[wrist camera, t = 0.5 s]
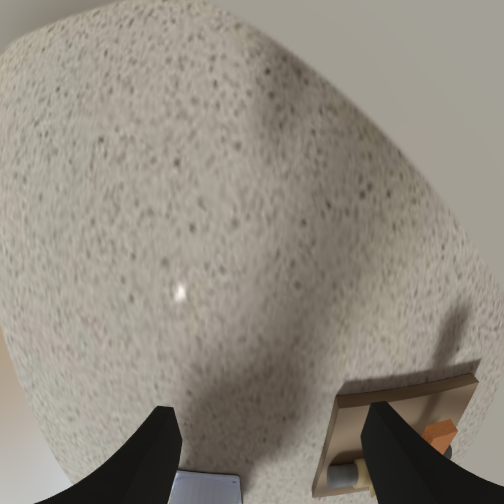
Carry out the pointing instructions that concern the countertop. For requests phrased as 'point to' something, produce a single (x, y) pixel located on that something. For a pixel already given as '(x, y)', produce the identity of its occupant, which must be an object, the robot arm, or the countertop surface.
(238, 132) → the countertop surface
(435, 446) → the valve lever
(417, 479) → the robot arm
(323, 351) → the countertop surface
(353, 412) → the valve base
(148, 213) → the countertop surface
